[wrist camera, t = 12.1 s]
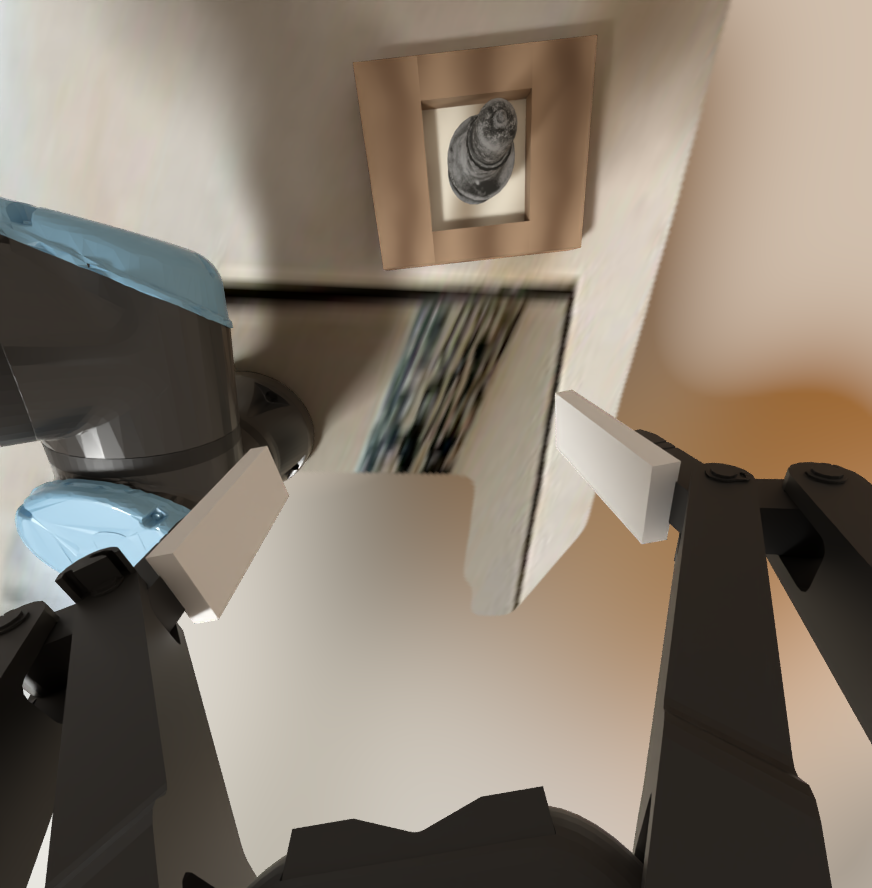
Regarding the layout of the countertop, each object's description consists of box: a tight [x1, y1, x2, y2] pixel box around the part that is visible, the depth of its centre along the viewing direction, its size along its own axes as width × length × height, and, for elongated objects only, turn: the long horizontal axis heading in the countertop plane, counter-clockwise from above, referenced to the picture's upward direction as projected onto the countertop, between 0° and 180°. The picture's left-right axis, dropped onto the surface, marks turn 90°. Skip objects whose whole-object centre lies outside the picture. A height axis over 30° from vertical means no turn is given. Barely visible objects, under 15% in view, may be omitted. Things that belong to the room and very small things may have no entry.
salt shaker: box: [447, 98, 518, 204], centre depth 27 cm, size 6×6×12 cm
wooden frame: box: [353, 35, 597, 271], centre depth 32 cm, size 20×15×3 cm
